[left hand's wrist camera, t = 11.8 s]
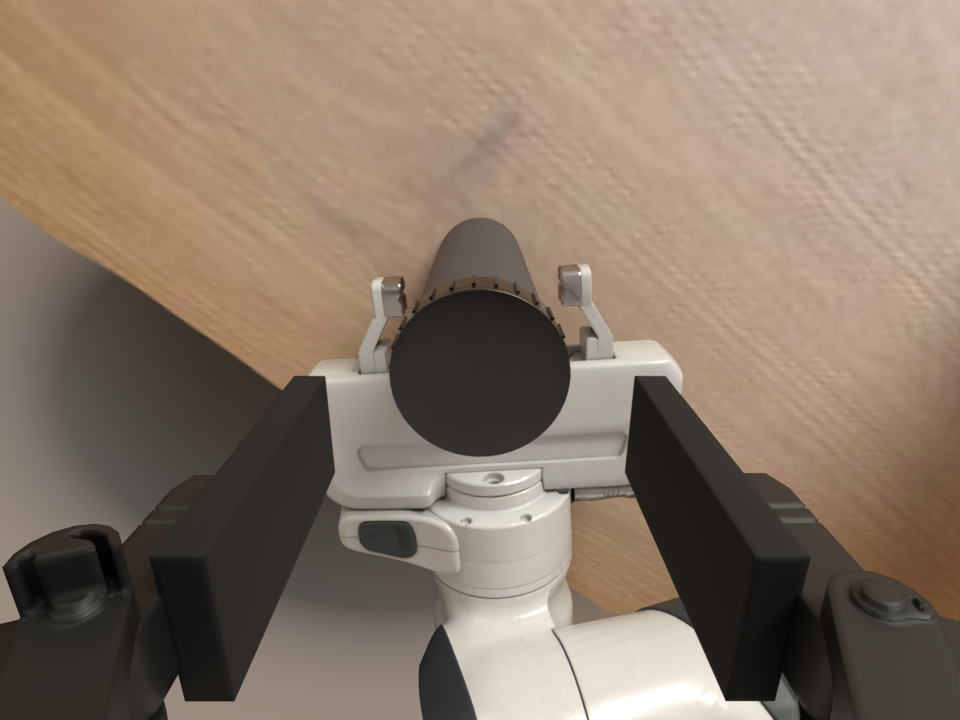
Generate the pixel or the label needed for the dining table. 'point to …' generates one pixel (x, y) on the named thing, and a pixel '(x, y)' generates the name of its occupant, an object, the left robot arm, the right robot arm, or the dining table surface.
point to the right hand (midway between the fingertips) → (480, 272)
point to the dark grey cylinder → (479, 255)
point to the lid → (479, 367)
